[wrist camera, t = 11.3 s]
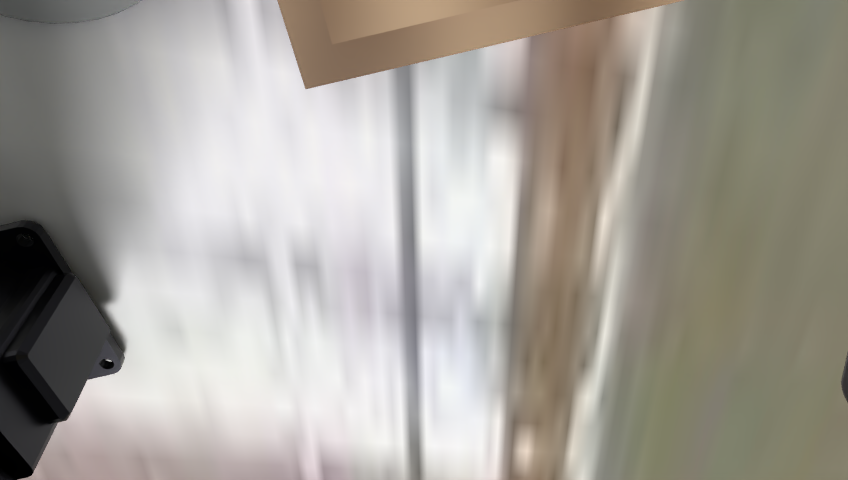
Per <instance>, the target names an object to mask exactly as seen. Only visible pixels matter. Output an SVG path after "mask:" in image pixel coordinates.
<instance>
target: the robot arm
mask: <svg viewBox="0 0 848 480" xmlns="http://www.w3.org/2000/svg"><path fill="white" fill-rule="evenodd" d="M22 234H27V235H30V236H31V237H32V238H33V240H28V239H26V238H24V237H23V236H22ZM124 358H125V357H124V354H123V352H122V351H121V349H120V348H119V346H118V344H117V343H116V341H115V340H114V338H113V337H112V335H111V333H110V328H109V326H108V325H107V323H106V322H105V320H104V318H103V317H102V315H101V314H100V312H99V311H98V309H97V307H96V306H95V304H94V303H93V301H92V299H91V298H90V296H89V295H88V293H87V292H86V290H85V288H84V287H83V285H82V284H81V282H80V280H79V279H78V278H77V277H76V276H75V275H73V273H72V272H71V270H70V269H69V267H68V265H67V264H66V262H65V261H64V259H63V258H62V256H61V254H60V253H59V251H58V250H57V248H56V247H55V245H54V243H53V242H52V240H51V239H50V237H49V236H48V234H47V232H46V231H45V230H44V228H43V227H42V226H41V225H39V224H37V223H36V222H32V221H19V222H15V223H10V224H6V225H2V226H0V480H17V479H22V478H26V477H29V476H31V475H32V474H33V472H34V470H35V468H36V466H37V464H38V462H39V460H40V458H41V456H42V454H43V452H44V450H45V448H46V446H47V444H48V442H49V440H50V438H51V436H52V433H53V431H54V429H55V427H56V425H57V423H58V422H62V421H66V420H67V419H68V418H69V416H70V414H71V412H72V410H73V408H74V406H75V404H76V402H77V400H78V398H79V396H80V394H81V392H82V389H83V387H84V385H85V383H86V381H87V380H88V379H92V378H97V377H101V376H106V375H110V374H114V373H116V372H118V371H119V370H120V369H121V367H122V364H123V362H124ZM105 359H109V360H111V361H112V362H109V361H106V360H105ZM841 384H842V390H843V394H844V396H845V398H846V400H847V402H848V353H847V358H846V362H845V367H844V371H843V375H842V381H841Z"/></svg>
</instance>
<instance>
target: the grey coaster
mask: <svg viewBox="0 0 848 480" xmlns="http://www.w3.org/2000/svg"><path fill="white" fill-rule="evenodd" d="M140 1H142V0H0V15H3V16H7V17H12V18H17V19H21V20H26V21H33V22H43V23H78V22H84V21H90V20H96V19H100V18H103V17H106V16H110V15H113V14H116V13H119V12H121V11H123V10H125V9H127V8H129V7H131V6H133V5H135V4H137V3H139V2H140Z"/></svg>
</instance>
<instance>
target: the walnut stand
mask: <svg viewBox="0 0 848 480" xmlns="http://www.w3.org/2000/svg"><path fill="white" fill-rule="evenodd" d="M679 1H683V0H278V4H279V7H280V10H281V13H282V16H283V19H284V23H285V26H286V29H287V32H288V35H289V38H290V41H291V45H292V48H293V51H294V54H295V57H296V60H297V64H298V67H299V70H300V73H301V76H302V79H303V82H304V86H305V89H309V88H313V87H317V86H321V85H326V84H330V83H334V82H338V81H343V80H347V79H351V78H355V77H360V76H364V75H368V74H372V73H377V72H381V71H385V70H389V69H394V68H398V67H402V66H406V65H411V64H415V63H419V62H424V61H428V60H432V59H436V58H441V57H445V56H449V55H453V54H458V53H462V52H466V51H470V50H475V49H479V48H483V47H487V46H492V45H496V44H500V43H504V42H509V41H513V40H517V39H521V38H526V37H530V36H534V35H539V34H543V33H547V32H551V31H556V30H560V29H564V28H568V27H573V26H577V25H581V24H585V23H590V22H594V21H598V20H602V19H607V18H611V17H615V16H619V15H624V14H628V13H632V12H637V11H641V10H645V9H649V8H654V7H658V6H662V5H666V4H671V3H675V2H679Z"/></svg>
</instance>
